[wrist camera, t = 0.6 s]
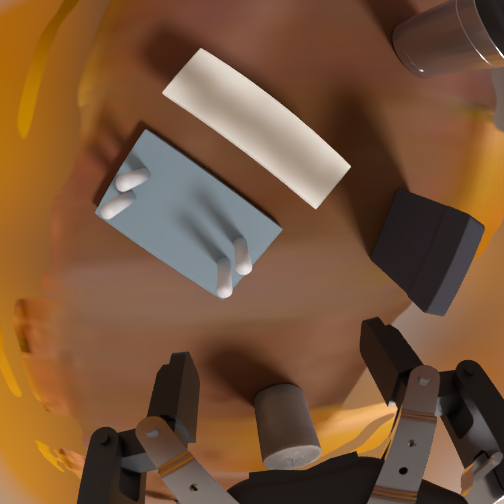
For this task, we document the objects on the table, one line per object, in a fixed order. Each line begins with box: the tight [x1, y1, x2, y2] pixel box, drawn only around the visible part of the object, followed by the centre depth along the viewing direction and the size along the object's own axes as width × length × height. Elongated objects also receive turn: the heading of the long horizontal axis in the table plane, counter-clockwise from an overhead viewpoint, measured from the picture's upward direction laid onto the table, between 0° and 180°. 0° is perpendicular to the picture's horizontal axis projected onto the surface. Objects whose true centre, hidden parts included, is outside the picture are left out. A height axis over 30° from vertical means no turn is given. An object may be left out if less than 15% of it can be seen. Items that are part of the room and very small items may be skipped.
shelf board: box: [162, 48, 351, 209], centre depth 24 cm, size 6×18×3 cm, turn 51°
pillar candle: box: [253, 384, 322, 470], centre depth 40 cm, size 10×10×15 cm
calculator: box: [370, 189, 485, 316], centre depth 29 cm, size 11×4×15 cm, turn 162°
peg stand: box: [95, 129, 283, 300], centre depth 29 cm, size 12×20×8 cm, turn 51°
